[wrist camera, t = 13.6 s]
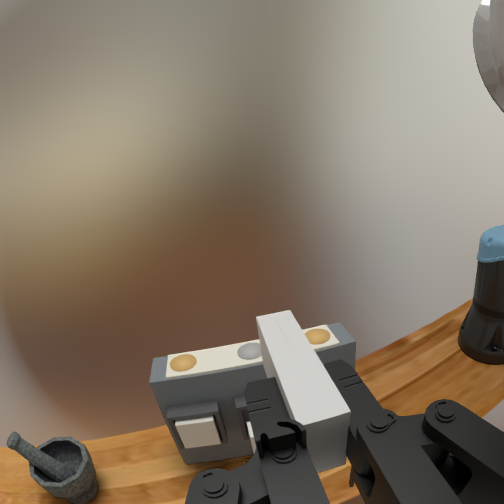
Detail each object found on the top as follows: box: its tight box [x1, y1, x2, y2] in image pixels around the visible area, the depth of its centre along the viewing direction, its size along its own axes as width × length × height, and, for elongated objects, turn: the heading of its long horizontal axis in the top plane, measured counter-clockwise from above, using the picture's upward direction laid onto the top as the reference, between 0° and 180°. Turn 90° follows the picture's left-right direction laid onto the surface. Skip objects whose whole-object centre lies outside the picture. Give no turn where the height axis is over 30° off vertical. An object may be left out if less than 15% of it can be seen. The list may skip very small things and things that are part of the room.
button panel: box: [149, 322, 356, 464], centre depth 38 cm, size 24×7×16 cm, turn 99°
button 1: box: [175, 415, 221, 449], centre depth 34 cm, size 4×2×4 cm, turn 99°
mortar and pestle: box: [7, 432, 98, 504], centre depth 29 cm, size 11×9×12 cm
